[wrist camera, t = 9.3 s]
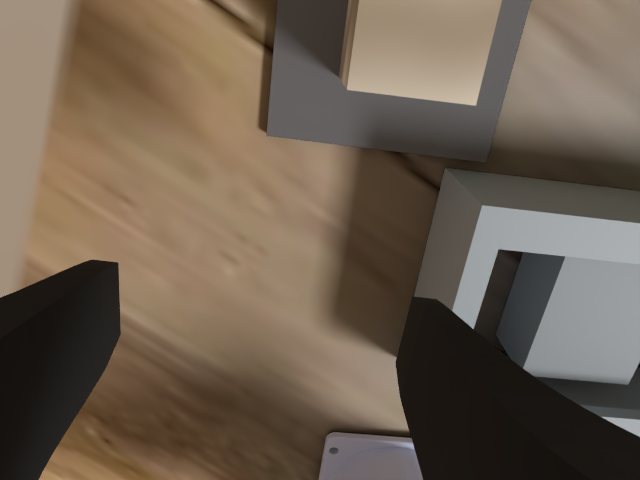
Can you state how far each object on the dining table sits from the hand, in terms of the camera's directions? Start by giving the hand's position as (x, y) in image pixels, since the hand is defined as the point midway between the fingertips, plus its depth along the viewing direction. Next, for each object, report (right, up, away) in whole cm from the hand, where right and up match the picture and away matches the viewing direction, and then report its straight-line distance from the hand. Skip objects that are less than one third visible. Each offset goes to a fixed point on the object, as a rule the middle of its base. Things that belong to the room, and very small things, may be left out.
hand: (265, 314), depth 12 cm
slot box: (+13, 0, +11) cm, 17 cm away
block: (+4, +10, +6) cm, 12 cm away
